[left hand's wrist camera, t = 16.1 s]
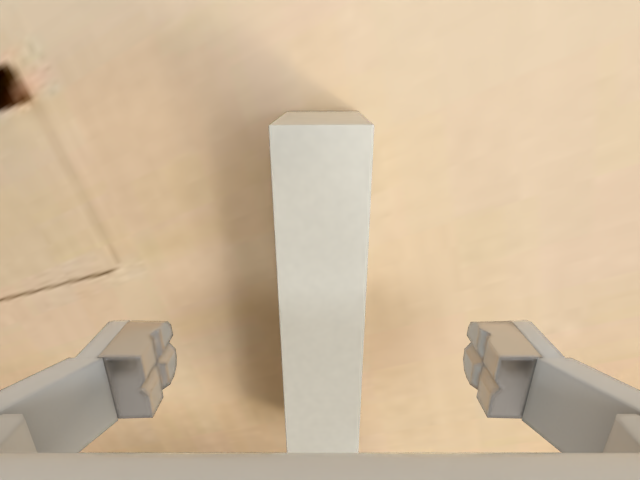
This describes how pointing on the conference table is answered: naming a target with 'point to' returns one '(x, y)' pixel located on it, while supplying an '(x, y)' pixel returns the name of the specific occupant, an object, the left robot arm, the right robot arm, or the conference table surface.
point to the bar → (322, 271)
